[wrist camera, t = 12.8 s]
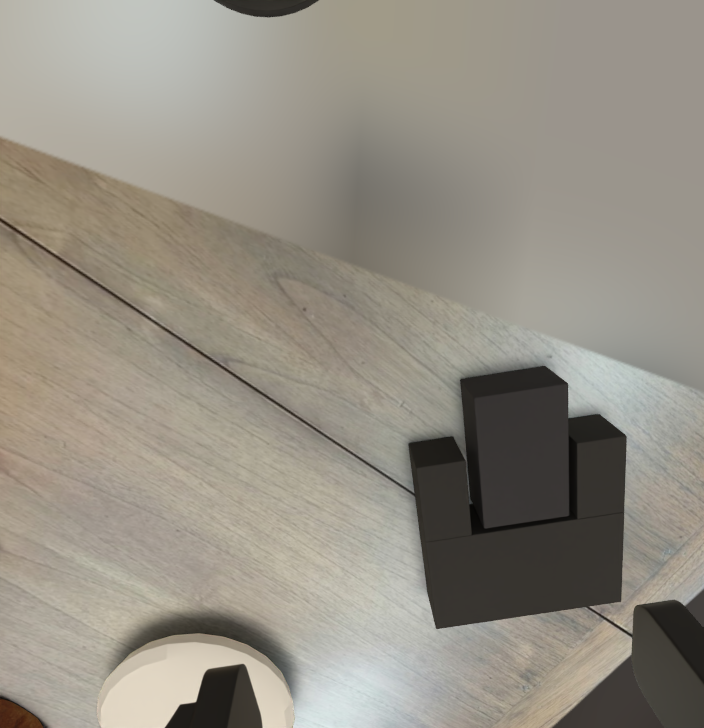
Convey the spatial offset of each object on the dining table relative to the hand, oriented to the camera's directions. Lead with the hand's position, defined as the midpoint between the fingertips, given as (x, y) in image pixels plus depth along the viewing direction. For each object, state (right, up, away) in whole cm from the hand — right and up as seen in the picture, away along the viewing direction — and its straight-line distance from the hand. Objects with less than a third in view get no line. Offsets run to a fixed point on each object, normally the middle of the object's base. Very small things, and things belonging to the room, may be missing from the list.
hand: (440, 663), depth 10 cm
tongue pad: (+9, +1, +25) cm, 27 cm away
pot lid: (-14, -21, +32) cm, 41 cm away
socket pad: (+10, -5, +27) cm, 30 cm away
